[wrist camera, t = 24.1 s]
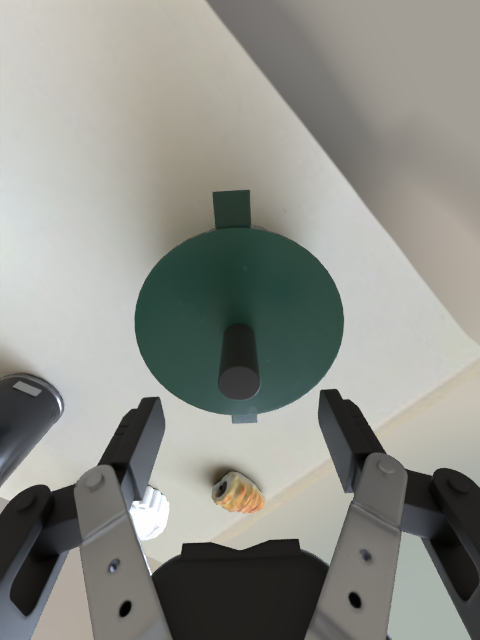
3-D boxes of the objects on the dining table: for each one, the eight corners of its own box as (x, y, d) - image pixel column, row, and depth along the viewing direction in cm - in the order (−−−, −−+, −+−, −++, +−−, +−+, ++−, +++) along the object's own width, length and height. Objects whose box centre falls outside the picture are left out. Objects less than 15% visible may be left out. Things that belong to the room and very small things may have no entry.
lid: (159, 409, 24) (132, 480, 18) (118, 232, 17) (51, 248, 11) (328, 402, 23) (360, 472, 17) (350, 219, 17) (412, 228, 11)
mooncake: (90, 491, 46) (78, 513, 43) (149, 475, 44) (141, 497, 41) (126, 527, 50) (118, 550, 47) (181, 514, 49) (176, 536, 45)
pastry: (273, 489, 46) (275, 512, 42) (249, 506, 48) (249, 530, 44) (231, 466, 43) (231, 490, 40) (208, 486, 45) (205, 510, 42)
